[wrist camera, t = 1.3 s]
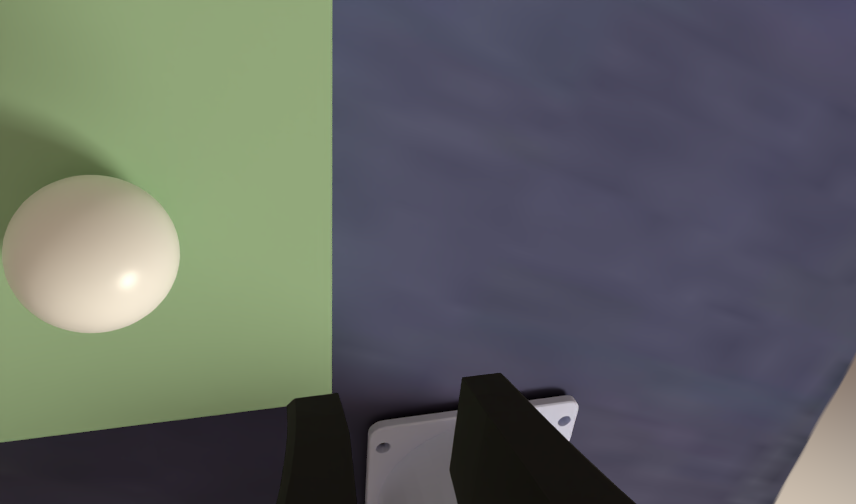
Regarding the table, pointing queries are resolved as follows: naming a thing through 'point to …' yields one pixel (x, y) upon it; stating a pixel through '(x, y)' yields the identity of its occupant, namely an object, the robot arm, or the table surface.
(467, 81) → the table surface
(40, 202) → the ball
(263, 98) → the putting mat
